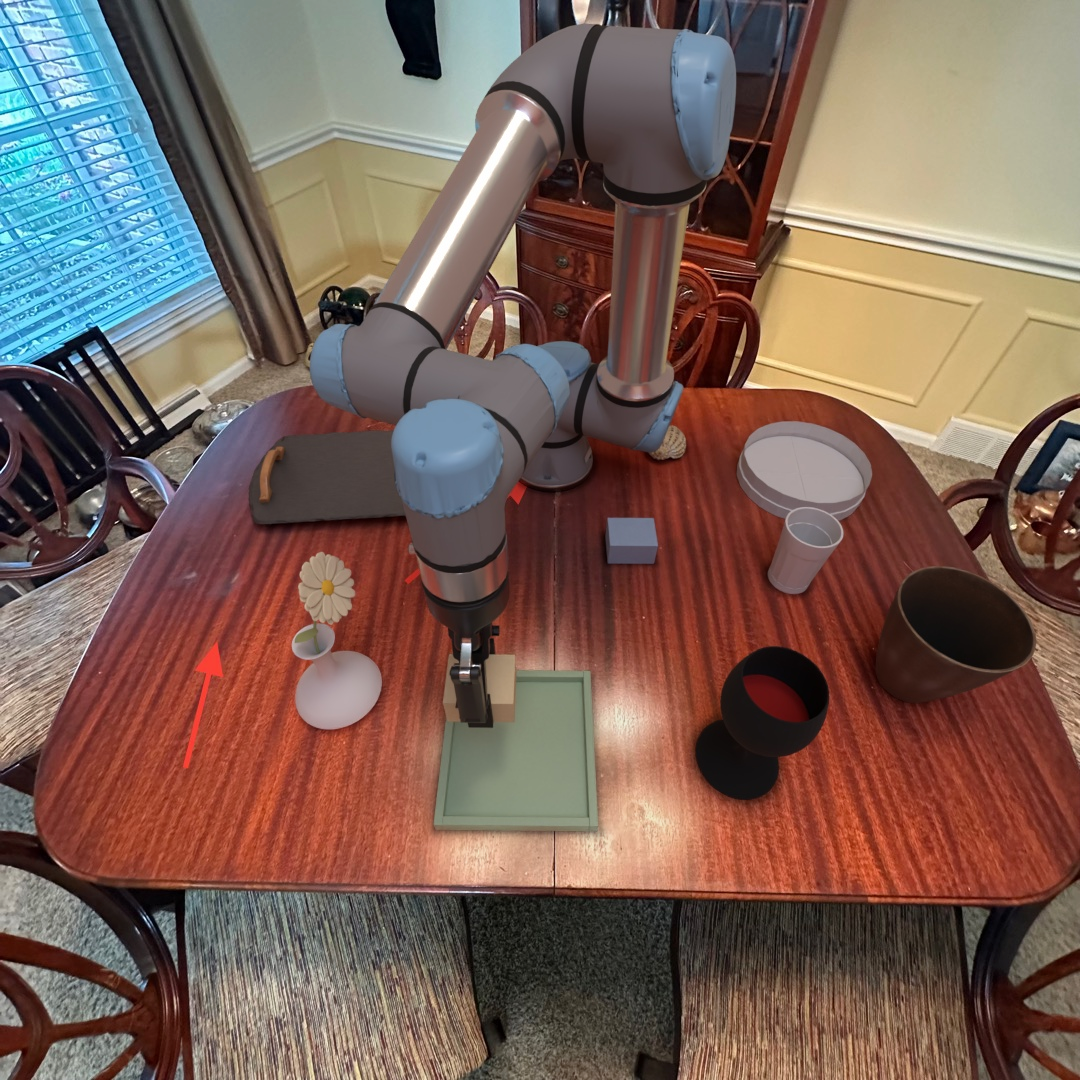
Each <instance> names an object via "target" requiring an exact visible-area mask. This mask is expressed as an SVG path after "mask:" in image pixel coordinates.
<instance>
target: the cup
mask: <svg viewBox="0 0 1080 1080" xmlns="http://www.w3.org/2000/svg"><path fill="white" fill-rule="evenodd" d="M843 539H844V528H843V526H842V524H841V522H840V521H838V520H837V519H836V518H835V517H833V516H832V515H831V514H829V513H827V512H825V511H823V510H821V509H817V508H813V507H800V508H796V509H794V510H792V511H791V512H789V513H788V515H787V517H786V519H784V523H783V526H782V529H781V533H780V537H779V539H778V543H777V545H776V549H775V552H774V554H773V557H772V561H771V563H770V566H769V568H768V570H767V579H768V580H769V582H770V584H771V585H772V586H773V587H774V588H775V589H776V590H778V591H780V592H782V593H785V594H789V595H798V594H802V593H804V592H805V591H806V590H807V589H808V588H809V587H810V584H811V582H812V581H813V580H814V579H815V577H816V576H817V574H818V573H819V571H820V570H821V569H822V567H823V566H824V565H825V564H826V562H827V561H828V559H829V558H830V556H831V555H832V554H833V552H834V551H835V550H836V549H837V547H838V546H839V544H841V541H842V540H843Z"/></svg>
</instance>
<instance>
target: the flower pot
mask: <svg viewBox="0 0 1080 1080" xmlns="http://www.w3.org/2000/svg"><path fill="white" fill-rule="evenodd" d="M1036 647H1037V634H1036V630H1035V627H1034V624H1033V623H1032V620H1031V618H1030V617H1029V615H1028V613H1027V612H1026V611H1025V609H1024V608H1023V607H1022V606H1021V604H1020V603H1019V602H1018V601H1017V600H1016V599H1015V598H1014V597H1013V596H1011V594H1009V593H1008V592H1007V591H1006V590H1004V589H1003V588H1002V587H1001V586H999V585H997V584H996V583H994V582H992V581H991V580H990V579H987V578H985V577H983V576H981V575H979V574H976V573H974V572H971V571H968V570H965V569H961V568H958V567H952V566H944V565H942V566H941V565H935V566H925V567H921V568H919V569H916V570H914V571H912V572H910V573H909V574H907V576H905V577H904V579H902V582H901V583H900V585H899V587H898V589H897V591H896V593H895V595H894V597H893V599H892V601H891V603H890V606H889V608H888V611H887V613H886V616H885V619H884V621H883V625H882V628H881V632H880V635H879V639H878V644H877V650H876V658H875V676H876V678H877V681H878V683H879V684H880V686H881V687H882V689H884V690H885V691H886V692H887V694H889V695H891V696H892V697H894V698H895V699H897V700H899V701H902V702H904V703H905V702H906V703H909V704H920V703H927V702H932V701H938V700H943V699H946V698H947V699H948V698H951V697H954V696H957V695H960V694H964V693H966V692H970V691H972V690H975V689H979V688H980V687H983V686H985V685H988V684H990V683H992V682H994V681H997V680H999V679H1001V678H1003V677H1005V676H1007V675H1008V674H1011V673H1013V672H1014V671H1016V670H1019V669H1021V668H1022V667H1023V666H1025V665H1026V664H1027V663H1028V662H1030V660H1032V658H1033V656H1034V655H1035V652H1036Z"/></svg>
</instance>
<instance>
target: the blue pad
mask: <svg viewBox="0 0 1080 1080" xmlns="http://www.w3.org/2000/svg"><path fill="white" fill-rule="evenodd" d="M604 535H605V536H604V537H605V548H606V558H607V560H606V561H607V564H608V565H609V564H612V565H613V564H617V565H618V564H619V565H621V564H623V565H624V564H625V565H628V564H629V565H631V564H634V565H654V564H655V561H656V556H657V552H658V549H659V543H658V536H657V531H656V525H655V518H654V517H607V520H606V529H605V534H604Z"/></svg>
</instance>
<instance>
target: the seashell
mask: <svg viewBox="0 0 1080 1080" xmlns="http://www.w3.org/2000/svg"><path fill="white" fill-rule="evenodd" d="M686 440H687V439H686V436H685V434H684V432H683V431H682V430H681V429H679V426H676V425H673V424H672V425H671V424H670V426H669V428H668V431H667V433H666V436H665V438H664V440H663V442H662V445H661V447H660V448H659V449H658V450H657V451H655V452H650V453H649V452H648V455H650V456H651V458H652V459H653V460H656V461H664V460H666V459H669V458H672V459H679V458H681V457H683V456H684V454H685V452H686V448H687V441H686Z"/></svg>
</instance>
